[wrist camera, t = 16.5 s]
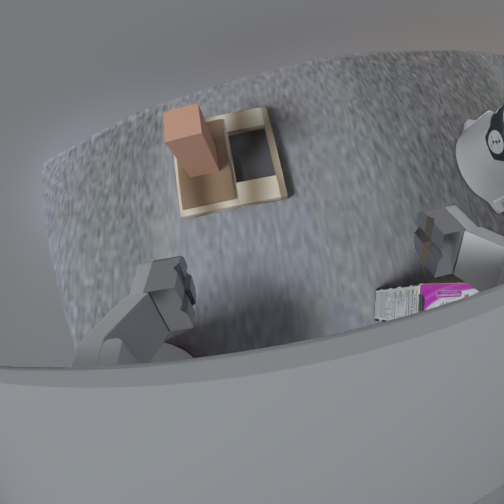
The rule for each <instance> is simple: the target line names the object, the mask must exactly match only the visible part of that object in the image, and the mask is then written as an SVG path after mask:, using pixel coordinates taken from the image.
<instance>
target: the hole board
mask: <svg viewBox="0 0 504 504" xmlns="http://www.w3.org/2000/svg"><path fill="white" fill-rule="evenodd" d="M205 122H206V124H207V127H208V129H209V131H210V134H211V136H212V139H213V141H214V144H215V147H216V153H217V160H218V166H219V171H218V172H213V173H209V174H204V175H200V176H195V177H191V178H190V176H189V175H188V173H187V172H186V171H185V169H184V168H183V167H182V165H181V164H180V162H179V161H178V160H177V158H176V157H175V155H174V161H175V171H176V180H177V189H178V198H179V206H180V214H181V218H182V219H189V218H193V217H198V216H203V215H208V214H212V213H217V212H222V211H227V210H232V209H237V208H242V207H247V206H252V205H257V204H263V203H268V202H273V201H279V200H284V199H287V198H288V195H287V190H286V186H285V182H284V177H283V173H282V169H281V164H280V160H279V156H278V152H277V147H276V143H275V139H274V135H273V131H272V127H271V123H270V119H269V115H268V111H267V107H260V108H255V109H249V110H244V111H239V112H234V113H229V114H224V115H219V116H215V117H210V118H206V119H205Z"/></svg>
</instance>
